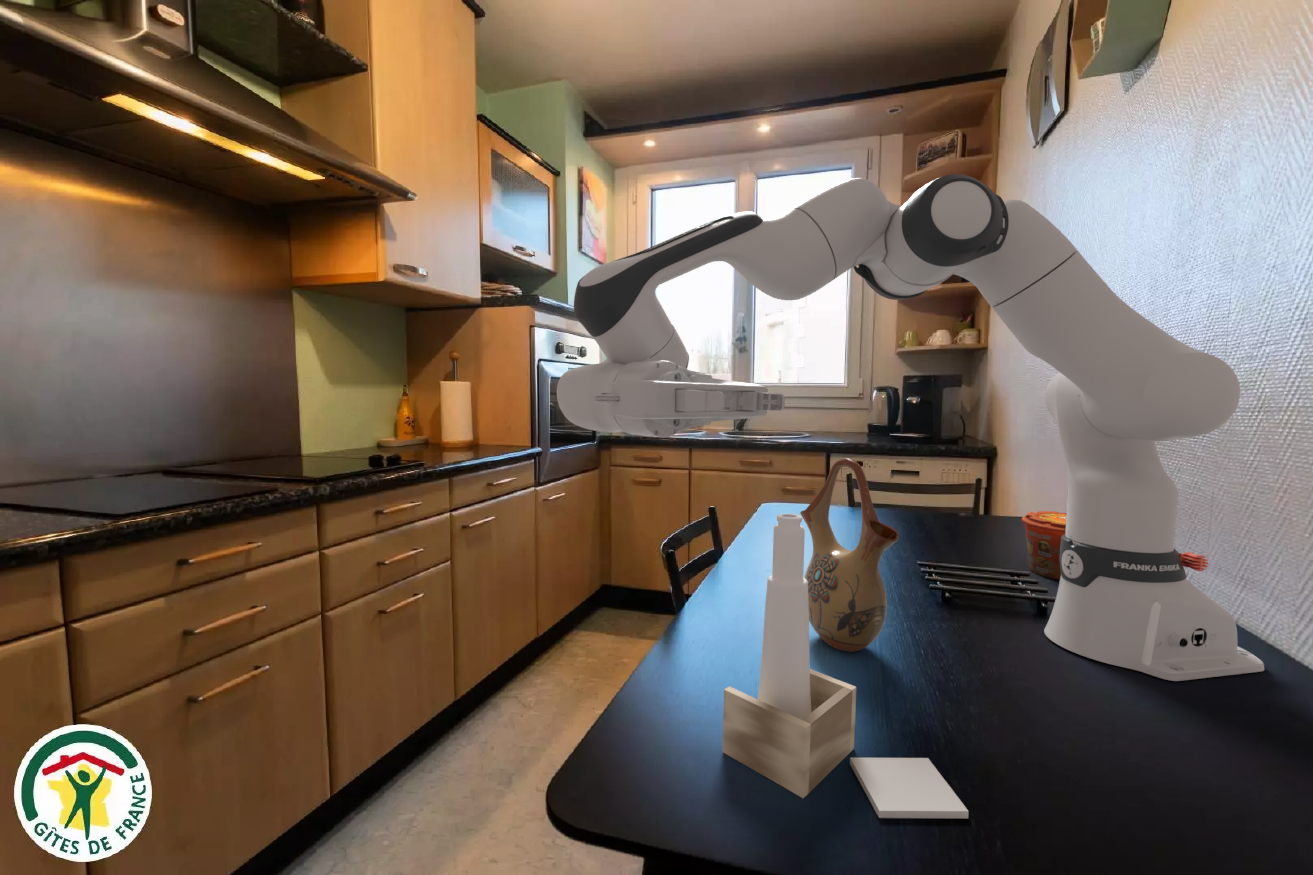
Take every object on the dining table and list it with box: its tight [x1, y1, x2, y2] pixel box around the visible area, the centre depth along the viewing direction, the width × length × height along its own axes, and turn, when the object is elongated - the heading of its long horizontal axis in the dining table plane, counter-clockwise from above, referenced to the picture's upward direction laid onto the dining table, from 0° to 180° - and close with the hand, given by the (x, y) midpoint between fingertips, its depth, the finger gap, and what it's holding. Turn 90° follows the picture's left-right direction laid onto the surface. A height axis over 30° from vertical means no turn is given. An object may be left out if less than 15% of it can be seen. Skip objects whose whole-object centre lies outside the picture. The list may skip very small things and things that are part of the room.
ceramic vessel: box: [799, 457, 900, 653], centre depth 73 cm, size 16×9×25 cm, turn 24°
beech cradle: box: [722, 668, 857, 799], centre depth 51 cm, size 8×9×6 cm
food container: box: [1021, 510, 1067, 581], centre depth 105 cm, size 16×16×11 cm
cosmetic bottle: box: [757, 513, 812, 720], centre depth 51 cm, size 6×6×22 cm
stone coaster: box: [849, 757, 969, 819], centre depth 46 cm, size 7×6×1 cm
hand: (755, 401), depth 55 cm, fingers open, 8 cm apart
